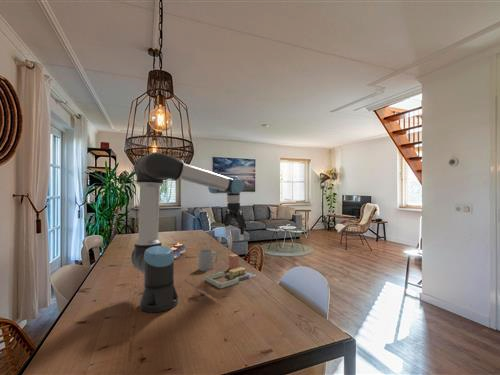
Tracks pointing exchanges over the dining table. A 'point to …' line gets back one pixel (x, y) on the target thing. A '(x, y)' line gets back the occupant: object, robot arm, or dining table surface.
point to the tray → (220, 285)
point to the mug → (206, 259)
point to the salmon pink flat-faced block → (233, 261)
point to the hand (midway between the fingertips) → (234, 238)
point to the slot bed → (242, 276)
